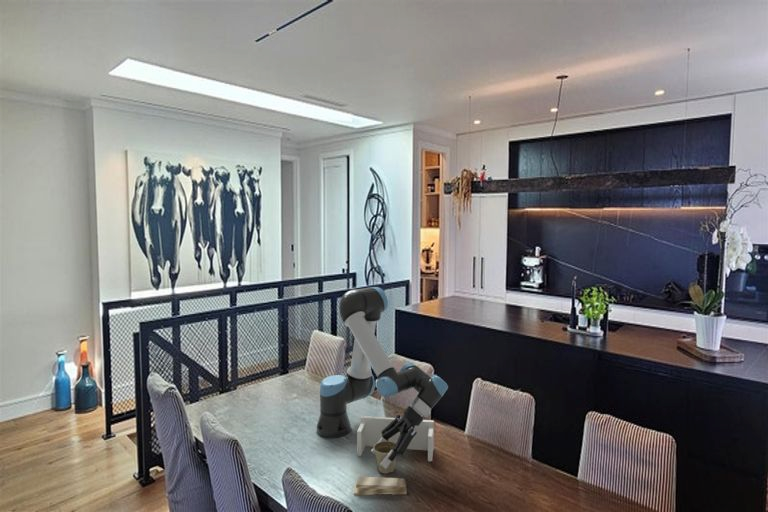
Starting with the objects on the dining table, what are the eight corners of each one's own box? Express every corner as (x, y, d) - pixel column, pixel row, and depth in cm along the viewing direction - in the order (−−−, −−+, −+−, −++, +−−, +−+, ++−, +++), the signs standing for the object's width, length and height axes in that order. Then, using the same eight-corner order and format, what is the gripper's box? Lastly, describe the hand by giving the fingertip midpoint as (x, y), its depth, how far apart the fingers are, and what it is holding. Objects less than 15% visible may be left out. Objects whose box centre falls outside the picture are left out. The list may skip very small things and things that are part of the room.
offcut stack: (353, 496, 152) (353, 486, 151) (354, 485, 158) (354, 475, 158) (406, 496, 152) (406, 485, 152) (405, 484, 159) (405, 475, 158)
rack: (356, 455, 178) (356, 426, 177) (361, 443, 187) (361, 415, 187) (432, 461, 173) (432, 431, 172) (433, 449, 183) (433, 420, 182)
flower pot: (372, 463, 172) (372, 441, 172) (397, 461, 173) (397, 440, 172) (374, 476, 163) (374, 453, 162) (400, 475, 164) (399, 452, 163)
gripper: (436, 429, 162) (396, 480, 157) (411, 406, 182) (374, 451, 178) (423, 417, 160) (381, 469, 155) (399, 395, 180) (362, 440, 176)
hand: (378, 459), depth 166 cm, fingers closed on flower pot, 9 cm apart
